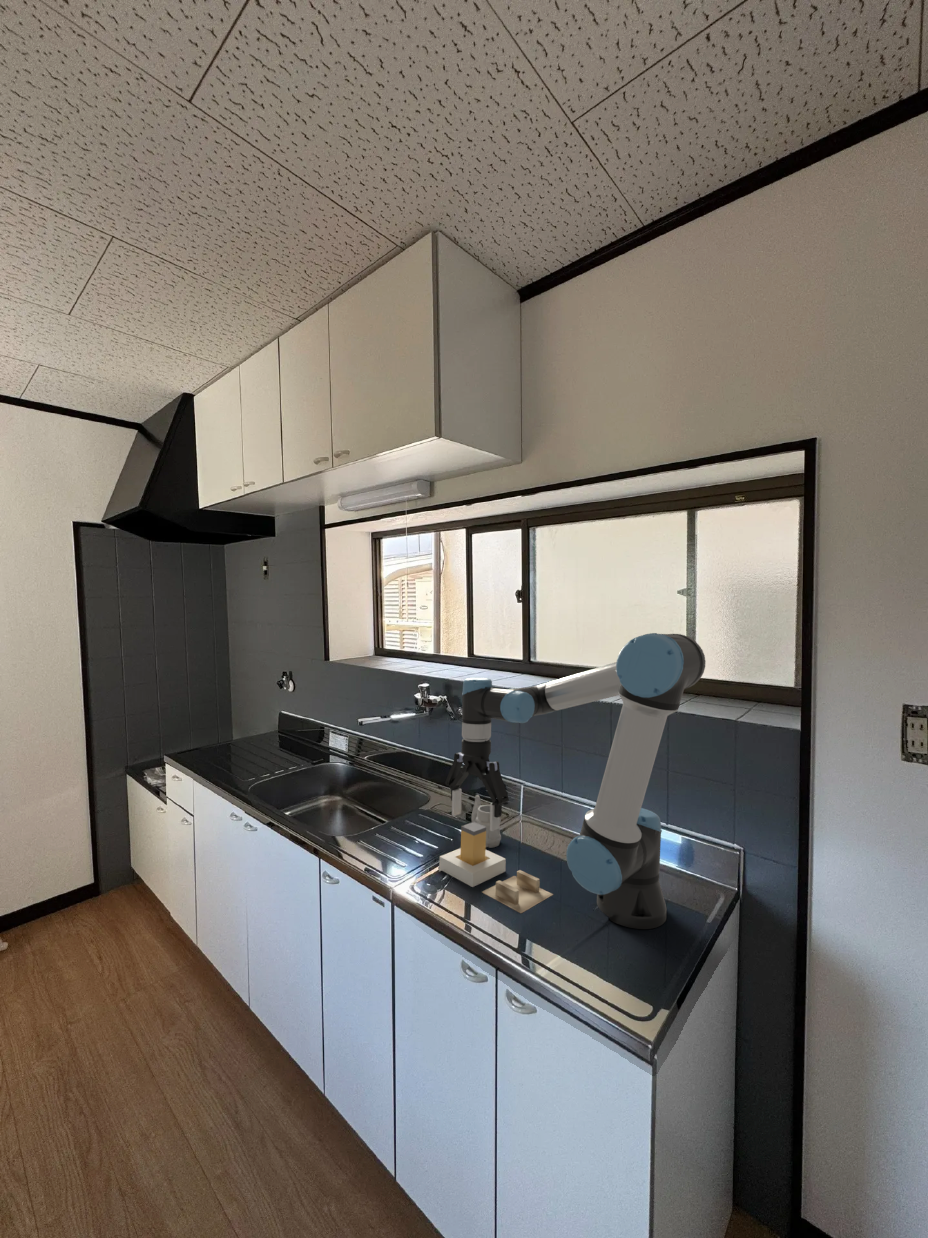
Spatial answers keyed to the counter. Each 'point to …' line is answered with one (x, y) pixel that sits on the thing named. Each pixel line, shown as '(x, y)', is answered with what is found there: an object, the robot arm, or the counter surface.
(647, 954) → the counter surface
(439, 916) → the counter surface
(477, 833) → the plug
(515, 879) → the beige plate with rail
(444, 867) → the port
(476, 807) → the mug
